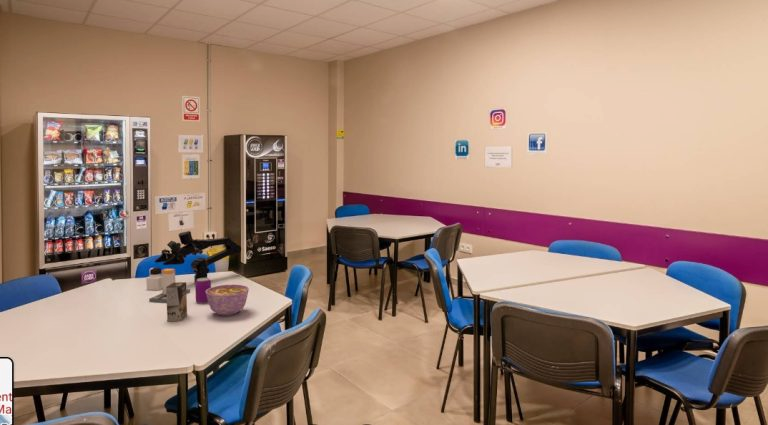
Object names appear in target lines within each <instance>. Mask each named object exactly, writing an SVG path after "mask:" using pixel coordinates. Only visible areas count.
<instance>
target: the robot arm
mask: <svg viewBox="0 0 768 425" xmlns="http://www.w3.org/2000/svg"><path fill="white" fill-rule="evenodd" d="M178 238H179V241H180V242H176V241H174V240H170V242H168V243H167V244H166V245H167V247H168V248H170V250H169V249H166V248H164V249H162V250H161V255H159V257H157V258H156V259H155V260H154V263H156V264H157V263H162V265H163V266H170V265H172V266H173V265H183V264H184V263H185V259H186V258H187V256H189V255H192V256H196V255H197V253H198V250H199V251H203V250H206V249H208V248H210V247H216V246H217V247H218V246H221V245H222V246H223V245H224V247H225V248H224V249H223V250H221V251H219V252H216V253H215V254H211V255H210V256H207V257H201V256H199V257H197V258H196V259H193V261H191V264H190V267H191V270H192V271H193V272H194V276H193V277H194V281H193V282H194V283H196V281H197V279H199V278H208V274H209V272H210V269H209V266H210V265H211V264H214V263H217V262H218V261H221V260H222V259H224V258H227V257H229V256H236V255H239V254H241V251H242V247H241V245H239V244H237V243H236V242H235V241H233V240H232V239H231V238H229V237H225V236H224V237H219V238H212V239H201V238H200V239H197V238H196V239H193V237H192V232H191V231H190V230H187V231H183V232H180V233H178ZM182 245H183V246H182Z"/></svg>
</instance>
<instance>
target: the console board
mask: <svg viewBox="0 0 768 425" xmlns="http://www.w3.org/2000/svg"><path fill="white" fill-rule="evenodd" d="M186 291H187V294H189V293H190V292H191V289H189V288H186ZM148 299H149V300H148V302H149V303H160V304H167V296H166V294H163V292H161V293H159V294H157V295H155V296H153V297H151V298H148Z"/></svg>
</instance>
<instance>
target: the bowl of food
mask: <svg viewBox="0 0 768 425" xmlns="http://www.w3.org/2000/svg"><path fill="white" fill-rule="evenodd" d="M249 291H250V288H249V287H248V286H247V285H243V284H221V285H215V286H211V288H209V289H207V290H206V291H205V292H206V295H207V299H208V305H209V308H210V310H211V311H212V312H214V313H216V314H219V315H220V316H223V317H225V316H226V317H227V316H232V315H235V314H237V313H238V312H240V311H242V310H243V309H244V307H245V306H246V303H247V300H248V299H247V298H248V295H249Z"/></svg>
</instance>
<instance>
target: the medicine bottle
mask: <svg viewBox="0 0 768 425" xmlns="http://www.w3.org/2000/svg"><path fill="white" fill-rule="evenodd" d="M148 271H149V276H147V277H146V278H145V281H146V290H147V291H160V290H162V268H161V267H157V266H156V267H151V268H150V269H149V270H148Z"/></svg>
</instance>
